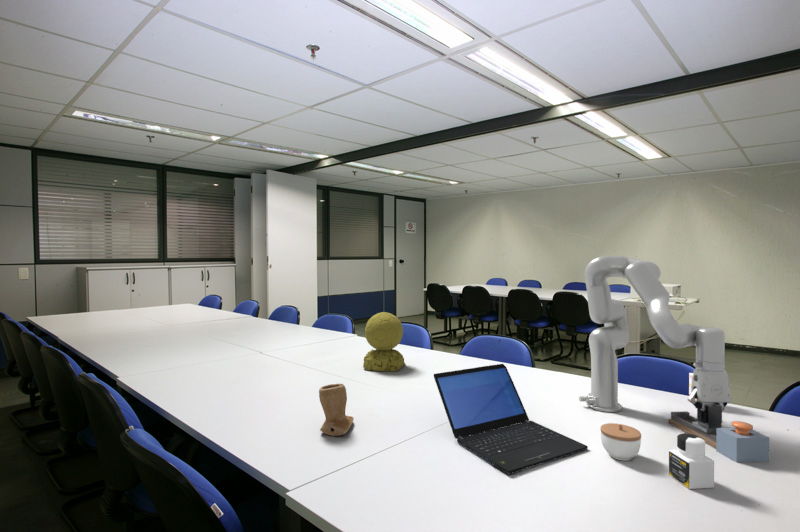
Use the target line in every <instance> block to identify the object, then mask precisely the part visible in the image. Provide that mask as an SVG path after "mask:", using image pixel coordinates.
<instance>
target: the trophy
mask: <svg viewBox="0 0 800 532" xmlns="http://www.w3.org/2000/svg"><path fill="white" fill-rule="evenodd" d="M403 336H404V328H403V323H402V322H401V320H400V319H399V318H398V317H397V316H396V315H394V314H393V313H390V312H386V311H382V312H377V313H376V314H374V315H371V317H370V318H369V319H368V320H367V322H366V324H365V328H364V337H365V339H366V342H367V343H368V345H370V346H371V347H372V349H370V350H369V351H368V352H367V353H366V354H365V356H364V357H363V366H362V368H363V369H365V371H374V372H375V371H376V372H398V370H400V369H402V367H403V366H405V357H404V355H403V354H402V353H401V352H399V351H398V350H397V349H394V348H396V347H397V346H398V345H399V344H400V343H401V341H402V339H403Z"/></svg>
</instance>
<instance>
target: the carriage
mask: <svg viewBox="0 0 800 532" xmlns="http://www.w3.org/2000/svg"><path fill="white" fill-rule="evenodd" d="M701 404H702V402H701ZM701 404H700V405H701ZM705 411H707V423H702V422H700V421H698V422H692V426H694V427H696V428H698V429H700V430H702V431H704V432H706V433H711V434H713V435H715V436H716V435H717V428H726V426H723V425H722V424H723V411H722V406H720V405H718V404H716V403H707V404H706V408H705Z"/></svg>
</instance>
